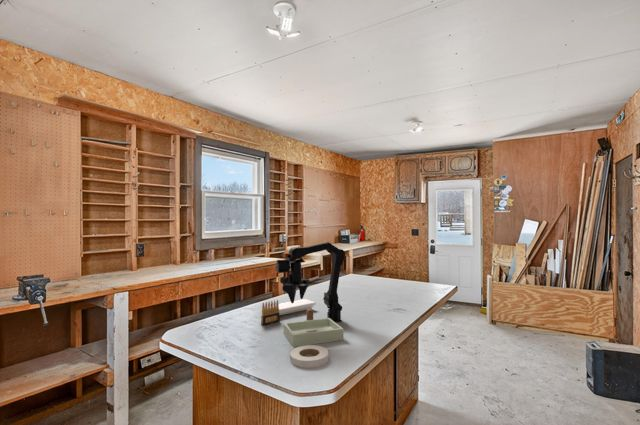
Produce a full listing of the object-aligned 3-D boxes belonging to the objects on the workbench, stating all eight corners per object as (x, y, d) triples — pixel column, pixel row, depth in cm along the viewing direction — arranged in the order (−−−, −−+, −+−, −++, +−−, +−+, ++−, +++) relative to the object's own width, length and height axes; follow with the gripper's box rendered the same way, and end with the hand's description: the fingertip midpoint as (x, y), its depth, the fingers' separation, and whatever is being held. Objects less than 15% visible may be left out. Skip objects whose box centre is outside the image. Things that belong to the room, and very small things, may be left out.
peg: (312, 323, 171) (312, 308, 171) (314, 325, 168) (314, 310, 168) (305, 324, 170) (305, 309, 170) (307, 326, 166) (307, 311, 167)
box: (329, 327, 164) (329, 317, 165) (343, 339, 147) (343, 328, 148) (283, 333, 156) (283, 323, 156) (293, 346, 139) (293, 335, 140)
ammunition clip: (262, 326, 168) (262, 303, 168) (261, 325, 169) (260, 302, 170) (279, 321, 175) (279, 299, 175) (277, 321, 176) (277, 299, 177)
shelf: (315, 310, 197) (315, 302, 197) (273, 320, 179) (273, 310, 179) (304, 307, 206) (304, 298, 206) (263, 315, 188) (263, 306, 188)
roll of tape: (282, 362, 125) (282, 355, 125) (304, 349, 138) (304, 342, 138) (315, 371, 117) (315, 364, 117) (335, 356, 130) (335, 349, 130)
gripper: (292, 268, 181) (293, 295, 180) (273, 273, 164) (274, 304, 164) (309, 268, 175) (310, 297, 175) (291, 274, 159) (292, 306, 159)
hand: (297, 301), depth 168 cm, fingers open, 9 cm apart
